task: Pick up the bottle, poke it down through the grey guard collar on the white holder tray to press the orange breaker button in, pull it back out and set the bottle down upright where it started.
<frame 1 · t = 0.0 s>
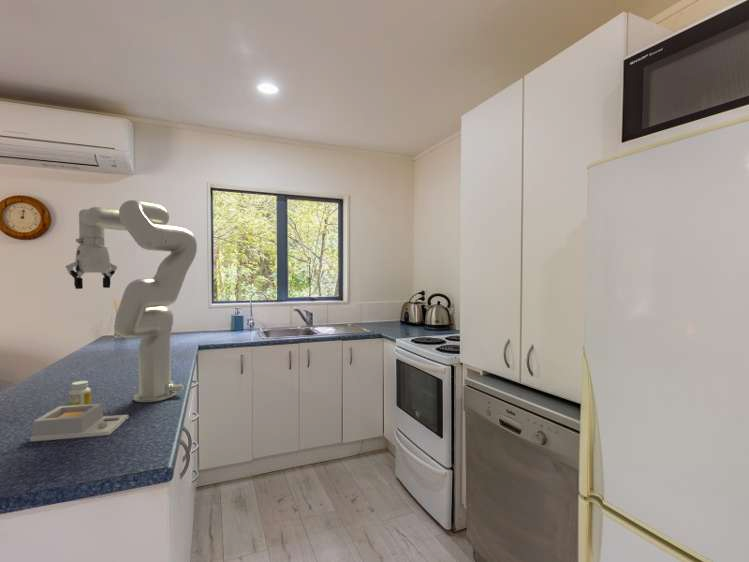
hand: (93, 288, 142), 37 cm above the countertop, tool pointing down, fingers open, 9 cm apart
supplement bottle: (80, 414, 115), on the countertop
white holder tray: (82, 428, 104), on the countertop
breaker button: (70, 418, 103), point 3 cm above the countertop, slide at 0.0 cm
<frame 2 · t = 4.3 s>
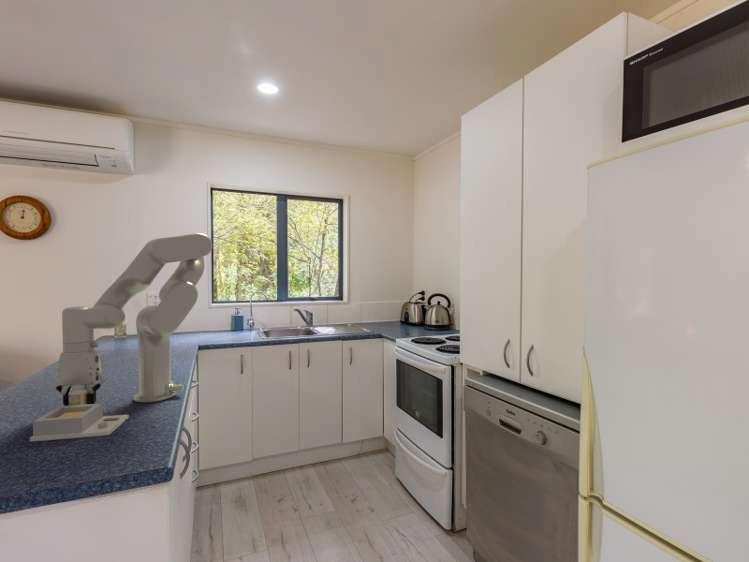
hand: (79, 405, 115), 3 cm above the countertop, tool pointing down, fingers closed on supplement bottle, 5 cm apart
supplement bottle: (80, 414, 115), on the countertop, touching gripper
everything else where it was.
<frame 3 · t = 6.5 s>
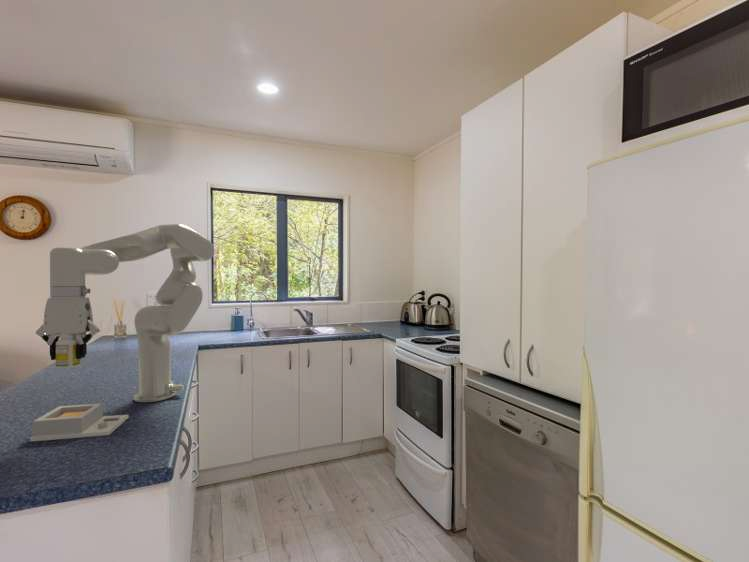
hand: (68, 357, 103), 20 cm above the countertop, tool pointing down, fingers closed on supplement bottle, 5 cm apart
supplement bottle: (68, 367, 103), point 17 cm above the countertop, touching gripper
everything else where it was.
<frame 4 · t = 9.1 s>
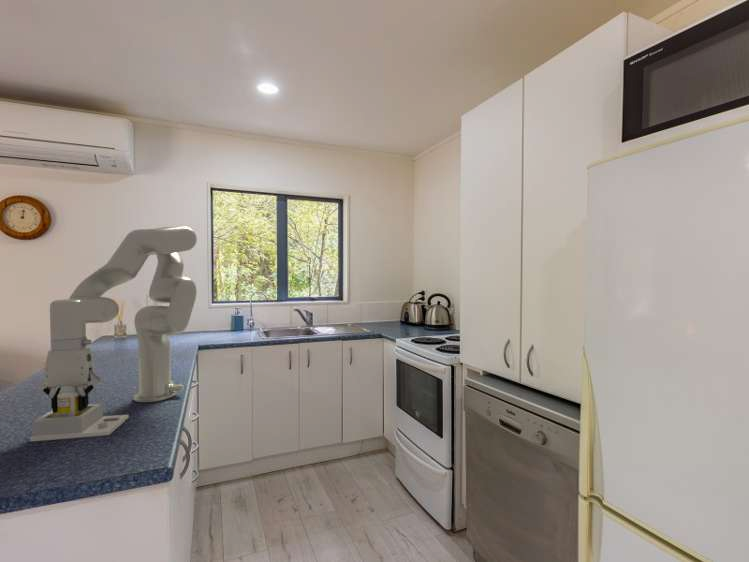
hand: (70, 409, 103), 6 cm above the countertop, tool pointing down, fingers closed on supplement bottle, 5 cm apart
supplement bottle: (70, 419, 103), point 3 cm above the countertop, touching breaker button, gripper
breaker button: (70, 422, 103), point 2 cm above the countertop, slide at 0.9 cm, touching supplement bottle
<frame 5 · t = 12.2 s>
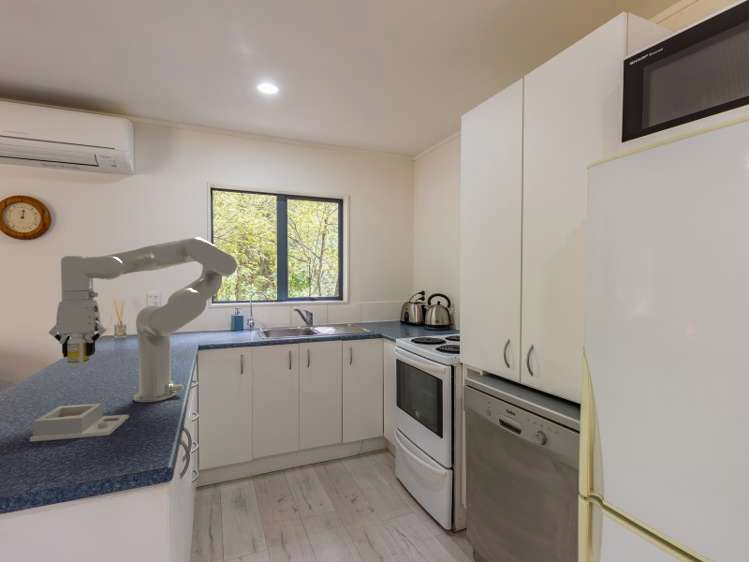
hand: (79, 355, 115), 18 cm above the countertop, tool pointing down, fingers closed on supplement bottle, 5 cm apart
supplement bottle: (79, 364, 115), point 15 cm above the countertop, touching gripper
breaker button: (70, 422, 103), point 2 cm above the countertop, slide at 0.9 cm
when the fingers open (3 cm above the countertop, at t = 15.1 s): supplement bottle stays where it is, on the countertop.
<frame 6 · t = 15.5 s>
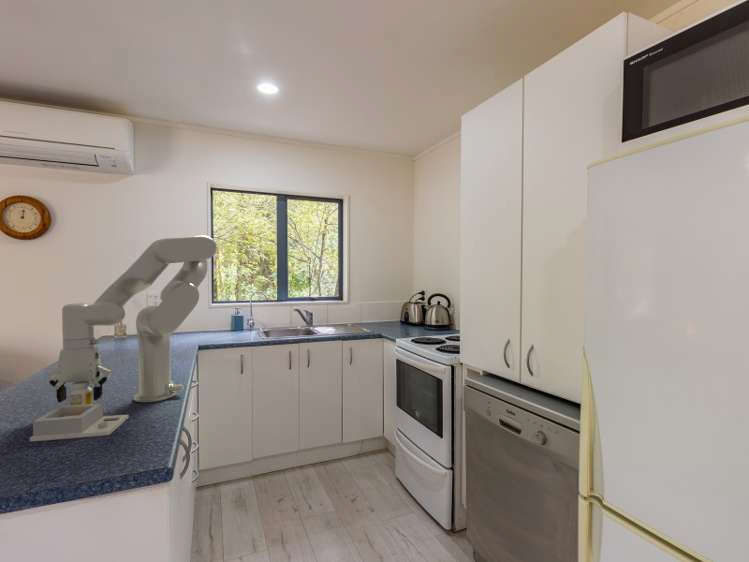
hand: (80, 399, 115), 4 cm above the countertop, tool pointing down, fingers open, 9 cm apart
supplement bottle: (81, 414, 115), on the countertop
everything else where it was.
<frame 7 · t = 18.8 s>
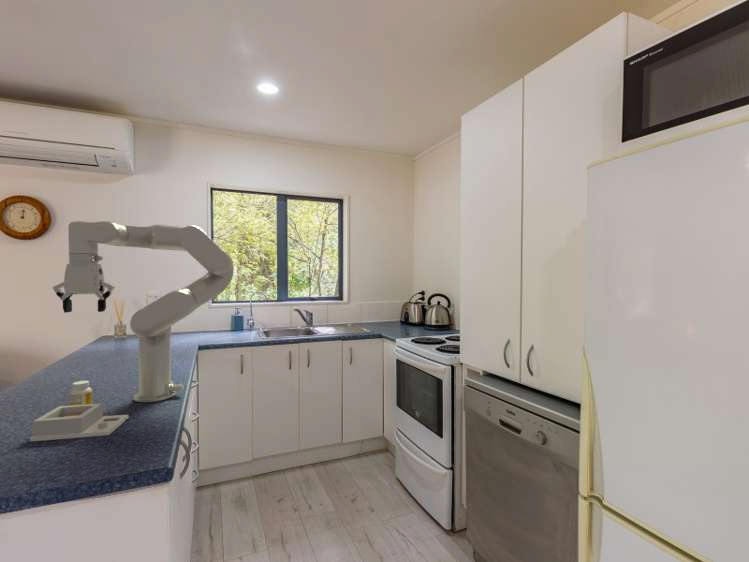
hand: (84, 311, 123), 30 cm above the countertop, tool pointing down, fingers open, 9 cm apart
nothing on the countertop moved.
at the end: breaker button slide at 0.9 cm; supplement bottle inside the target area (0.3 cm from its centre), on the countertop; supplement bottle tilted 0° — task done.
